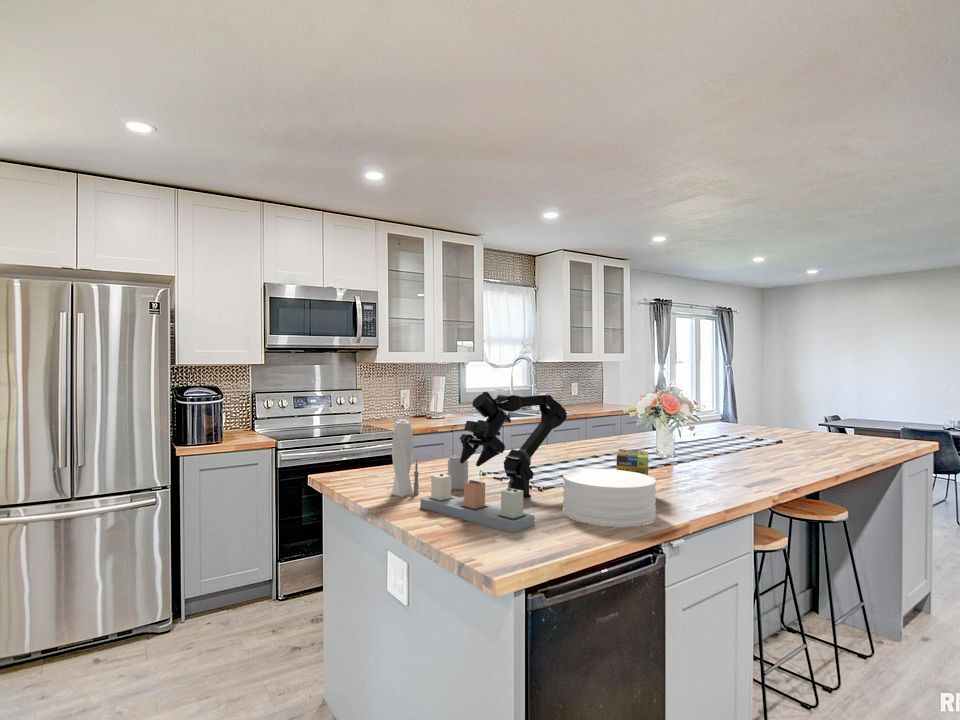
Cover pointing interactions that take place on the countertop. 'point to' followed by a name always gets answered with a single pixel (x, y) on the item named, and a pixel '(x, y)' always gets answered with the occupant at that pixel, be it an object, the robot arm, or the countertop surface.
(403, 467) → the skyscraper
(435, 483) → the cream block
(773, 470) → the countertop surface
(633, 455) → the protein box
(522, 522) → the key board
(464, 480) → the can
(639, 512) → the plate stack
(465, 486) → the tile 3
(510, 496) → the green block
